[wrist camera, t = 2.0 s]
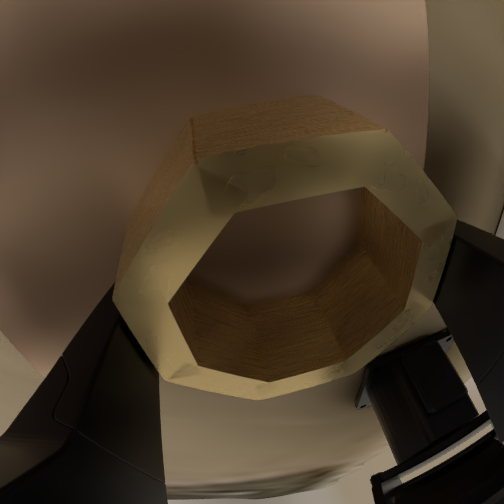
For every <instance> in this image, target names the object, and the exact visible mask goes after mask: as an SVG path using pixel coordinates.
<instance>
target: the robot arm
mask: <svg viewBox="0 0 504 504" xmlns="http://www.w3.org/2000/svg"><path fill="white" fill-rule="evenodd" d="M114 286H115V282H114V283H113V285H112V286H111V287H110V289H109V290H108V291H107V293H106V294H105V295H104V296H103V298H102V299H101V300H100V302H99V303H98V304H97V306H96V307H95V308H94V310H93V311H92V312H91V314H90V315H89V316H88V318H87V319H86V321H85V322H84V323H83V325H82V326H81V327H80V329H79V330H78V332H77V333H76V334H75V336H74V337H73V339H72V340H71V341H70V343H69V344H68V346H67V347H66V349H65V350H64V351H63V353H62V356H60V357H59V359H58V360H57V362H56V363H55V365H54V366H53V367H52V369H51V370H50V372H49V373H48V375H47V376H46V378H45V379H44V380H43V382H42V383H41V385H40V386H39V387H38V389H37V390H36V391H35V393H34V394H33V395H32V397H31V398H30V399H29V401H28V402H27V403H26V405H25V406H24V407H23V409H22V410H21V411H20V413H19V414H18V415H17V417H16V418H15V420H14V421H13V422H12V424H11V425H10V427H9V428H8V429H7V430H6V432H5V433H4V434H3V435H2V436H1V437H0V504H168V502H167V493H166V485H165V484H164V483H165V475H164V464H163V452H162V438H161V421H160V398H159V372H158V370H157V369H156V368H155V366H154V365H153V363H152V362H151V360H150V359H149V357H148V356H147V354H146V353H145V351H144V350H143V348H142V347H141V345H140V344H139V342H138V341H137V339H136V338H135V336H134V335H133V333H132V331H131V330H130V328H129V327H128V325H127V323H126V322H125V320H124V319H123V317H122V315H121V314H120V312H119V310H118V309H117V307H116V305H115V304H114V302H113V298H112V296H113V291H114ZM433 303H434V304H435V306H436V308H437V310H438V311H439V313H440V315H441V317H442V319H443V320H444V322H445V324H446V326H447V328H448V331H445V332H443V333H441V334H439V335H436V336H434V337H432V338H429V339H427V340H425V341H422V342H420V343H418V344H415V345H413V346H410V347H408V348H405V349H403V350H400V351H398V352H395V353H393V354H390V355H387V356H385V357H382V358H379V359H376V360H374V361H372V362H371V363H369V364H368V365H367V367H366V371H365V374H364V377H363V381H362V384H361V387H360V390H359V394H358V397H357V400H356V403H355V406H356V408H357V410H361V409H364V408H366V407H369V406H373V408H374V411H375V413H376V415H377V418H378V420H379V422H380V425H381V427H382V429H383V432H384V434H385V436H386V439H387V441H388V443H389V446H390V448H391V451H392V453H393V455H394V458H395V460H396V463H397V466H395V467H393V468H391V469H389V470H387V471H384V472H380V473H377V474H375V475H373V476H371V479H370V481H371V484H372V492H373V497H374V501H375V504H504V239H502V238H500V237H497V236H495V235H493V234H491V233H488V232H486V231H484V230H481V229H479V228H476V227H474V226H472V225H469V224H467V223H464V222H462V221H459V220H457V222H456V226H455V230H454V234H453V238H452V242H451V245H450V249H449V252H448V256H447V259H446V263H445V266H444V269H443V272H442V275H441V279H440V282H439V285H438V288H437V291H436V293H435V296H434V299H433ZM453 339H454V341H455V343H456V345H457V347H458V349H459V351H460V353H461V355H462V357H463V359H464V361H465V363H466V365H467V367H468V369H469V371H470V373H471V375H472V377H473V379H474V382H475V383H476V385H477V389H478V391H479V393H480V395H481V397H482V400H483V402H484V405H485V407H486V409H487V410H486V411H485V412H483V413H482V414H481V415H479V413H478V411H477V409H476V408H475V406H474V404H473V402H472V400H471V399H470V397H469V395H468V391H467V388H466V387H465V385H464V383H463V381H462V380H461V378H460V376H459V374H458V373H457V371H456V369H455V368H454V366H453V364H452V363H451V361H450V360H449V358H448V356H447V355H446V352H447V350H448V348H449V346H450V344H451V342H452V340H453ZM478 415H479V416H478ZM477 416H478V417H477ZM489 424H491V425H492V427H493V430H491V431H490V432H488V433H487V434H486V435H484V436H483V437H481V438H480V439H479V440H477V441H476V442H474V443H473V444H471V445H470V446H468V447H467V448H465V449H464V450H462V451H460V452H459V453H457V454H456V455H454V456H452V457H451V458H449V459H447V460H446V461H444V462H442V463H441V464H439V465H437V466H435V467H433V468H432V469H430V470H428V471H426V472H424V473H423V474H421V475H419V476H417V477H415V478H413V479H411V480H409V481H407V482H405V483H403V484H402V482H401V480H400V478H401V477H404V476H406V475H408V474H410V473H412V472H414V471H415V470H417V469H419V468H421V467H423V466H425V465H427V464H428V463H430V462H432V461H434V460H436V459H437V458H439V457H441V456H442V455H444V454H446V453H447V452H449V451H451V450H452V449H454V448H456V447H457V446H459V445H460V444H462V443H463V442H465V441H466V440H468V439H469V438H471V437H472V436H474V435H475V434H477V433H478V432H479V431H481V430H482V429H484V428H485V427H486V426H488V425H489Z"/></svg>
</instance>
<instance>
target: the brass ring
mask: <svg viewBox="0 0 504 504" xmlns="http://www.w3.org/2000/svg"><path fill="white" fill-rule="evenodd" d="M360 187H362V189H361V211H360V227H359V241H358V245H357V246H356V247H355V248H354V249H353V250H352V251H351V252H350V253H349V254H348V255H347V256H346V257H345V258H344V259H343V261H342V262H341V263H340V264H339V265H338V266H337V267H336V268H335V269H334V270H333V271H332V272H331V273H330V274H329V275H328V276H327V277H326V278H325V279H324V280H323V281H322V282H321V283H320V284H319V285H318V286H317V287H316V288H315V289H314V290H313V291H310V292H306V293H302V294H298V295H294V296H290V297H286V298H282V299H278V300H274V301H270V302H266V303H261V304H257V305H253V306H247V305H245V304H242V303H239V302H237V301H234V300H232V299H229V298H227V297H224V296H222V295H219V294H217V293H214V292H212V291H209V290H207V289H204V288H202V287H199V286H197V285H194V284H192V283H191V282H190V279H189V276H188V275H189V273H190V272H191V271H192V269H193V268H194V267H195V265H196V264H197V263H198V261H199V260H200V259H201V257H202V256H203V254H204V253H205V252H206V250H207V249H208V248H209V246H210V245H211V244H212V242H213V241H214V240H215V238H216V237H217V236H218V234H219V233H220V232H221V230H222V229H223V228H224V226H225V225H226V224H227V223H228V221H229V220H230V219H231V217H232V216H233V215H234V213H236V212H241V211H245V210H250V209H255V208H259V207H264V206H269V205H273V204H278V203H283V202H288V201H292V200H297V199H302V198H307V197H312V196H317V195H322V194H328V193H333V192H338V191H343V190H349V189H354V188H360ZM456 222H457V215H456V214H455V212H454V211H453V210H452V208H451V207H450V205H449V204H448V203H447V201H446V200H445V198H444V197H443V196H442V194H441V193H440V192H439V190H438V189H437V188H436V186H435V185H434V184H433V182H432V181H431V180H430V179H429V177H428V176H427V175H426V173H425V172H424V171H423V170H422V168H421V167H420V166H419V165H418V164H417V162H416V161H415V160H414V159H413V158H412V156H411V155H410V154H409V153H408V152H407V150H406V149H405V148H404V147H403V146H402V145H401V144H400V142H399V141H398V140H397V139H396V138H395V137H394V136H393V135H392V134H391V132H390V131H389V130H387V129H385V128H384V127H382V126H380V125H378V124H376V123H374V122H372V121H371V120H369V119H367V118H365V117H363V116H361V115H359V114H357V113H355V112H353V111H351V110H349V109H347V108H345V107H343V106H340V105H338V104H336V103H334V102H332V101H330V100H328V99H325V98H323V97H321V96H309V97H300V98H292V99H284V100H277V101H270V102H263V103H257V104H251V105H245V106H239V107H234V108H229V109H224V110H219V111H214V112H209V113H204V114H200V115H195V116H193V119H192V118H190V119H189V121H188V122H187V124H186V125H185V127H184V128H183V130H182V131H181V133H180V134H179V136H178V137H177V139H176V140H175V142H174V143H173V145H172V146H171V148H170V150H169V151H168V153H167V154H166V156H165V158H164V159H163V161H162V162H161V164H160V166H159V167H158V169H157V171H156V172H155V174H154V176H153V177H152V179H151V181H150V182H149V184H148V186H147V187H146V189H145V191H144V193H143V194H142V196H141V198H140V200H139V201H138V203H137V205H136V207H135V209H134V210H133V212H132V214H131V216H130V219H129V223H128V227H127V231H126V235H125V239H124V243H123V248H122V252H121V257H120V261H119V266H118V271H117V276H116V281H115V286H114V291H113V296H112V298H113V302H114V304H115V305H116V307H117V309H118V310H119V312H120V314H121V315H122V317H123V319H124V320H125V322H126V323H127V325H128V327H129V328H130V330H131V331H132V333H133V335H134V336H135V338H136V339H137V341H138V342H139V344H140V345H141V347H142V348H143V350H144V351H145V353H146V354H147V356H148V357H149V359H150V360H151V362H152V363H153V365H154V366H155V368H156V369H157V370H158V372H159V373H160V375H161V376H162V377H163V379H164V380H166V381H167V382H171V383H175V384H179V385H183V386H188V387H192V388H196V389H201V390H205V391H210V392H215V393H220V394H225V395H230V396H235V397H241V398H247V399H253V400H259V399H260V400H263V399H268V398H272V397H276V396H280V395H284V394H288V393H291V392H295V391H299V390H302V389H306V388H310V387H313V386H316V385H320V384H323V383H326V382H330V381H333V380H336V379H339V378H342V377H345V376H348V375H351V374H354V373H356V372H357V371H359V370H360V369H361V368H362V367H364V366H365V365H366V364H367V363H369V362H370V361H371V360H372V359H374V358H375V357H376V356H377V355H379V354H380V353H381V352H382V351H383V350H385V349H386V348H387V347H388V346H389V345H391V344H392V343H393V342H394V341H395V340H396V339H398V338H399V337H400V336H401V335H402V334H403V333H404V332H406V331H407V330H408V329H409V328H410V327H411V326H412V325H413V324H414V323H415V322H417V321H418V320H419V319H420V318H421V317H422V316H423V315H424V314H425V313H426V312H427V311H428V310H429V308H430V307H431V305H432V302H433V299H434V296H435V293H436V291H437V288H438V285H439V282H440V279H441V275H442V272H443V269H444V266H445V263H446V259H447V256H448V252H449V249H450V245H451V242H452V238H453V234H454V230H455V226H456Z"/></svg>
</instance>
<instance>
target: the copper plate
mask: <svg viewBox="0 0 504 504" xmlns="http://www.w3.org/2000/svg"><path fill="white" fill-rule="evenodd" d="M309 96H321V97H323V98H325V99H328V100H330V101H332V102H334V103H336V104H338V105H340V106H343V107H345V108H347V109H349V110H351V111H353V112H355V113H357V114H359V115H361V116H363V117H365V118H367V119H369V120H371V121H372V122H374V123H376V124H378V125H380V126H382V127H384V128H385V129H387V130H389V131H390V132H391V134H392V135H393V136H394V137H395V138H396V139H397V140H398V141H399V142H400V144H401V145H402V146H403V147H404V148H405V149H406V150H407V152H408V153H409V154H410V155H411V156H412V158H413V159H414V160H415V161H416V162H417V164H418V165H419V166H420V167H421V168H422V170H423V171H424V163H425V152H426V141H427V127H428V107H429V48H428V29H427V16H426V5H425V0H0V330H1V331H2V333H3V334H4V335H5V336H6V337H7V338H8V340H9V341H10V342H11V343H12V344H13V345H14V346H15V348H16V349H17V350H18V351H19V352H20V353H21V354H22V355H23V356H24V357H25V358H26V359H27V360H28V362H29V363H30V364H31V365H32V366H33V367H34V368H35V369H36V370H37V371H38V372H39V373H40V374H41V375H42V376H43V377H44V378H46V376H47V375H48V373H49V372H50V370H51V369H52V367H53V366H54V365H55V363H56V362H57V360H58V359H59V357H60V356H62V353H63V351H64V350H65V349H66V347H67V346H68V344H69V343H70V341H71V340H72V339H73V337H74V336H75V334H76V333H77V332H78V330H79V329H80V327H81V326H82V325H83V323H84V322H85V321H86V319H87V318H88V316H89V315H90V314H91V312H92V311H93V310H94V308H95V307H96V306H97V304H98V303H99V302H100V300H101V299H102V298H103V296H104V295H105V294H106V293H107V291H108V290H109V289H110V287H111V286H112V285H113V283H114V282H115V281H116V276H117V271H118V266H119V261H120V257H121V252H122V248H123V243H124V239H125V235H126V231H127V227H128V223H129V219H130V216H131V214H132V212H133V210H134V209H135V207H136V205H137V203H138V201H139V200H140V198H141V196H142V194H143V193H144V191H145V189H146V187H147V186H148V184H149V182H150V181H151V179H152V177H153V176H154V174H155V172H156V171H157V169H158V167H159V166H160V164H161V162H162V161H163V159H164V158H165V156H166V154H167V153H168V151H169V150H170V148H171V146H172V145H173V143H174V142H175V140H176V139H177V137H178V136H179V134H180V133H181V131H182V130H183V128H184V127H185V125H186V124H187V122H188V121H189V119H190V118H192V119H193V116H195V115H200V114H204V113H209V112H214V111H219V110H224V109H229V108H234V107H239V106H245V105H251V104H257V103H263V102H270V101H277V100H284V99H292V98H300V97H309ZM361 189H362V187H360V188H354V189H349V190H343V191H338V192H333V193H328V194H322V195H317V196H312V197H307V198H302V199H297V200H292V201H288V202H283V203H278V204H273V205H269V206H264V207H259V208H255V209H250V210H245V211H241V212H236V213H234V215H233V216H232V217H231V219H230V220H229V221H228V223H227V224H226V225H225V226H224V228H223V229H222V230H221V232H220V233H219V234H218V236H217V237H216V238H215V240H214V241H213V242H212V244H211V245H210V246H209V248H208V249H207V250H206V252H205V253H204V254H203V256H202V257H201V259H200V260H199V261H198V263H197V264H196V265H195V267H194V268H193V269H192V271H191V272H190V273H189V275H188V276H189V279H190V282H191V283H192V284H194V285H197V286H199V287H202V288H204V289H207V290H209V291H212V292H214V293H217V294H219V295H222V296H224V297H227V298H229V299H232V300H234V301H237V302H239V303H242V304H245V305H247V306H253V305H257V304H261V303H266V302H270V301H274V300H278V299H282V298H286V297H290V296H294V295H298V294H302V293H306V292H310V291H313V290H314V289H315V288H316V287H317V286H318V285H319V284H320V283H321V282H322V281H323V280H324V279H325V278H326V277H327V276H328V275H329V274H330V273H331V272H332V271H333V270H334V269H335V268H336V267H337V266H338V265H339V264H340V263H341V262H342V261H343V259H344V258H345V257H346V256H347V255H348V254H349V253H350V252H351V251H352V250H353V249H354V248H355V247H356V246H357V245H358V241H359V227H360V211H361Z"/></svg>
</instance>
